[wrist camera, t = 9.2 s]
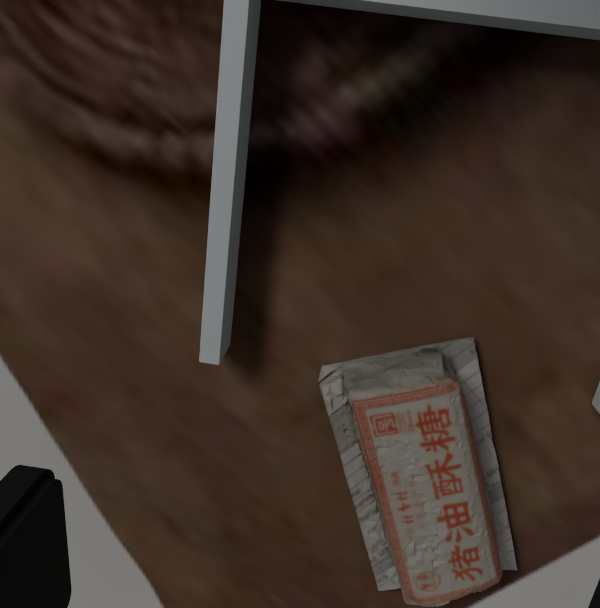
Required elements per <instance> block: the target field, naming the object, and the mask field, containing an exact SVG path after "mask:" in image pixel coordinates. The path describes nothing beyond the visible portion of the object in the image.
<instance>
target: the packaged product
mask: <svg viewBox="0 0 600 608" xmlns="http://www.w3.org/2000/svg"><path fill="white" fill-rule="evenodd" d="M318 383H319V386H320V389H321V392H322V395H323V399H324V402H325V405H326V409H327V412H328V416H329V419H330V422H331V426H332V429H333V433H334V436H335V440H336V443H337V446H338V450H339V453H340V457H341V461H342V464H343V468H344V472H345V476H346V479H347V483H348V486H349V489H350V492H351V496H352V500H353V502H354V506H355V509H356V512H357V516H358V520H359V523H360V526H361V530H362V534H363V538H364V541H365V545H366V548H367V551H368V555H369V559H370V562H371V565H372V569H373V573H374V575H375V579H376V583H377V587H378V590H379V591H383V590H390V589H398V588H401V590H402V594H403V600H404V601H405V602H406V603H407V604H408V605H409V604H411V605H422V606H426V607H437V606H441V605H445V604H447V603H449V602H450V601H451V600H455V599H458V598H461V597H463V596H466V595H468V594H470V593H476V591H478V592H481V591H483V590H485V589H487V588H489V587H491V586H493V585H495V584H497V583H499V581H500V579H501V577H502V571H503V570H517V566H516V560H515V554H514V547H513V542H512V536H511V531H510V526H509V520H508V515H507V509H506V504H505V499H504V494H503V489H502V484H501V479H500V475H499V467H498V462H497V457H496V452H495V449H494V445H493V441H492V433H491V428H490V422H489V414H488V409H487V404H486V399H485V395H484V390H483V385H482V379H481V374H480V369H479V364H478V357H477V352H476V346H475V341H474V337H467V338H461V339H455V340H450V341H445V342H440V343H434V344H429V345H424V346H418V347H413V348H408V349H403V350H397V351H393V352H389V353H385V354H381V355H375V356H369V357H363V358H359V359H354V360H349V361H344V362H339V363H334V364H330V365H325V366H322V368H321V371H320V375H319V380H318Z"/></svg>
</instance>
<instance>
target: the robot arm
mask: <svg viewBox="0 0 600 608" xmlns="http://www.w3.org/2000/svg"><path fill="white" fill-rule="evenodd" d="M70 597H71V579H70V568H69V556H68V545H67V534H66V522H65V511H64V499H63V488H62V483H61V481H60V480H57V479H55V477H54V473H53V472H52V470H49V469H43V468H36V467H29V466H23V465H18V466H15V467H14V468H13V469H11V470H10V471H9V472H8V474H7V475H6V476H5V477H4V478H3V479H2V480H1V481H0V608H67V607H68V604H69V601H70ZM589 608H600V580H599V582H598V585H597V587H596V590H595V592H594V595H593V598H592V600H591V602H590V605H589Z"/></svg>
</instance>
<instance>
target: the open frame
mask: <svg viewBox="0 0 600 608" xmlns="http://www.w3.org/2000/svg"><path fill="white" fill-rule="evenodd" d="M278 1H286V2H294V3H302V4H310V5H318V6H326V7H335V8H343V9H351V10H359V11H367V12H375V13H383V14H391V15H399V16H407V17H415V18H424V19H432V20H440V21H448V22H456V23H464V24H472V25H480V26H488V27H496V28H505V29H513V30H521V31H529V32H537V33H545V34H553V35H561V36H569V37H577V38H586V39H594V40H600V0H278ZM260 8H261V0H224V10H223V24H222V39H221V53H220V68H219V82H218V96H217V111H216V125H215V140H214V154H213V169H212V183H211V198H210V212H209V227H208V241H207V256H206V270H205V285H204V299H203V314H202V328H201V343H200V357H199V362H204V363H210V364H216V365H219V364H220V362H221V360H222V358H223V357H224V355H225V353H226V351H227V350H228V348H229V346H230V342H231V331H232V320H233V309H234V298H235V286H236V275H237V264H238V253H239V242H240V231H241V220H242V208H243V197H244V186H245V175H246V164H247V153H248V142H249V131H250V119H251V108H252V97H253V86H254V75H255V64H256V53H257V41H258V30H259V19H260ZM592 405H593V406H594V407H595V408H596V410H597V411H598V412H599V414H600V382H599V385H598V387H597V390H596V393H595V396H594V399H593V401H592Z"/></svg>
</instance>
